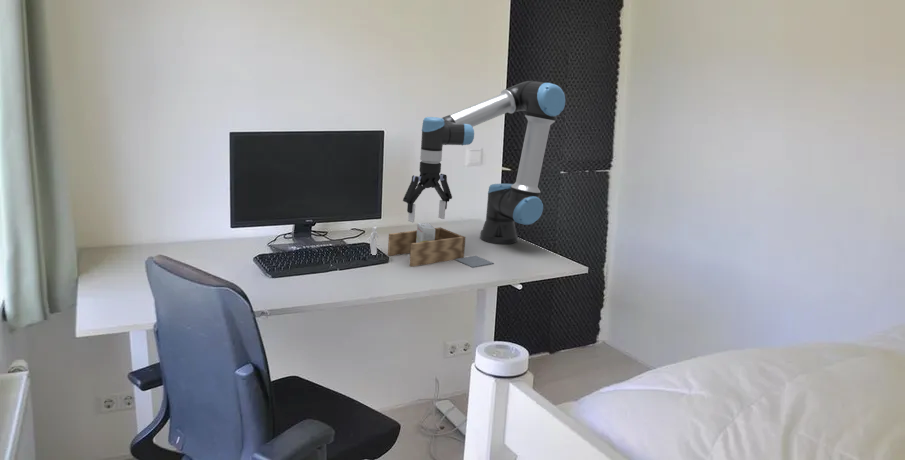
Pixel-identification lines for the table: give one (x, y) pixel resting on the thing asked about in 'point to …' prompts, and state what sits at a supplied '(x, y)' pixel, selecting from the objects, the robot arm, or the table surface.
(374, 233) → the figurine
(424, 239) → the ink box
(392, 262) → the table surface
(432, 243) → the wooden frame
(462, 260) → the mat
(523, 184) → the robot arm
